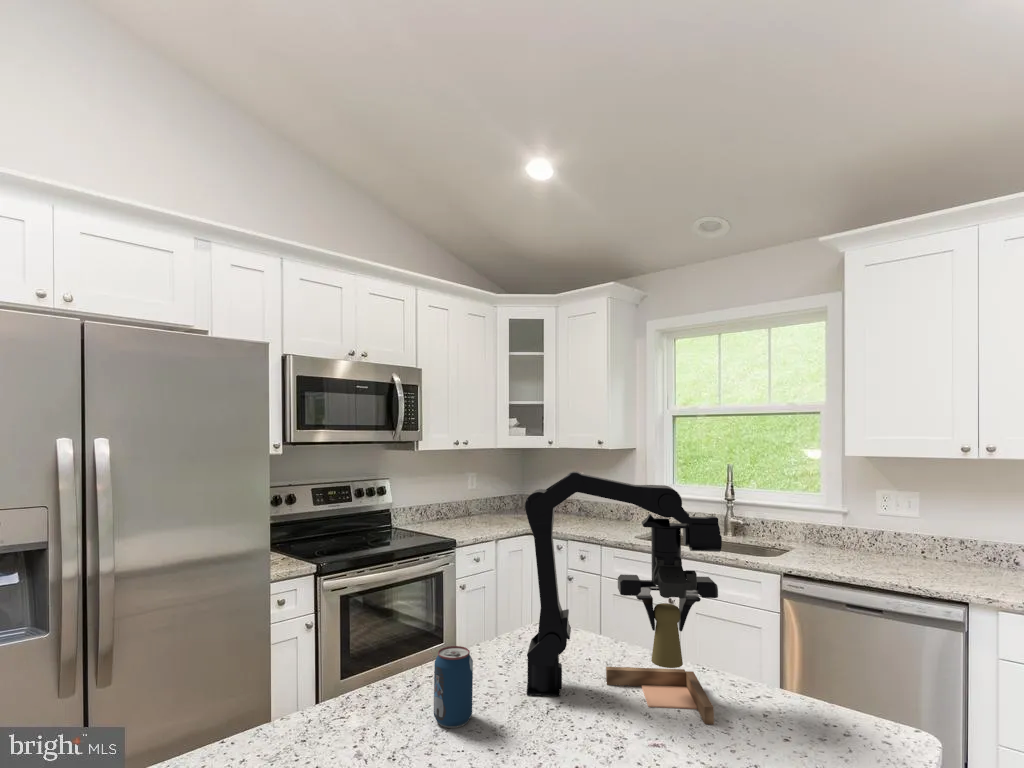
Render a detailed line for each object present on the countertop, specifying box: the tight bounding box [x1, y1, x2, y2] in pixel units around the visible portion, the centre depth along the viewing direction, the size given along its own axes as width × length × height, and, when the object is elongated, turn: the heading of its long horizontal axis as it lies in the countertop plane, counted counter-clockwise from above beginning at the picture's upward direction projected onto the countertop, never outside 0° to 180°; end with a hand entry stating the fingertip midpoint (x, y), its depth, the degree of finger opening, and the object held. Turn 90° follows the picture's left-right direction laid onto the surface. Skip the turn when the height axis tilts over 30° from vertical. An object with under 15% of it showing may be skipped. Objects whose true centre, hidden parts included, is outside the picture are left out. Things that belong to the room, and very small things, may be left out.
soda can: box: [433, 645, 474, 729], centre depth 108 cm, size 7×7×12 cm
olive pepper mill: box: [651, 602, 684, 669], centre depth 118 cm, size 6×6×11 cm
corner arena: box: [605, 666, 715, 725], centre depth 116 cm, size 18×17×3 cm
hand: (666, 630), depth 118 cm, fingers closed on olive pepper mill, 5 cm apart
